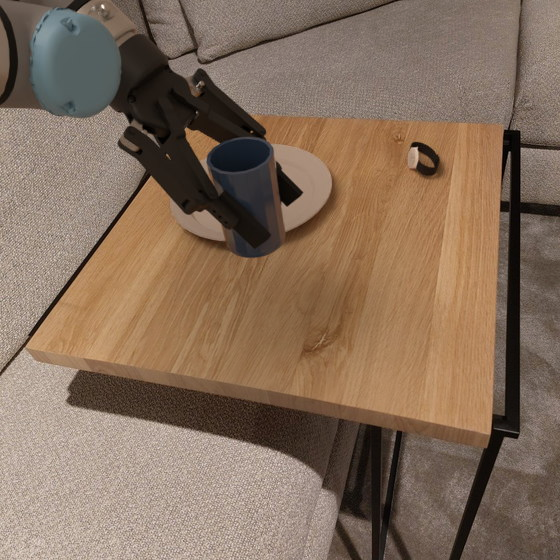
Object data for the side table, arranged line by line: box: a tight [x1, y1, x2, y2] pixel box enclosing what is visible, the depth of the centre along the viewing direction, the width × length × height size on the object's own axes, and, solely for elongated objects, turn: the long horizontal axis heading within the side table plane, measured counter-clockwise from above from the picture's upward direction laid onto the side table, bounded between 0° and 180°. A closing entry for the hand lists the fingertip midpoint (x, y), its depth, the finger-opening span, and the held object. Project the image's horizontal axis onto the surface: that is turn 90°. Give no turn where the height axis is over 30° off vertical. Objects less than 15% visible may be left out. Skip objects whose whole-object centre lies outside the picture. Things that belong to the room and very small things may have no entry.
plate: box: [169, 143, 333, 242], centre depth 92 cm, size 26×26×2 cm
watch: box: [407, 141, 441, 177], centre depth 92 cm, size 8×5×4 cm, turn 7°
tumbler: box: [206, 137, 287, 259], centre depth 63 cm, size 7×7×11 cm
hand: (279, 220), depth 63 cm, fingers closed on tumbler, 7 cm apart
